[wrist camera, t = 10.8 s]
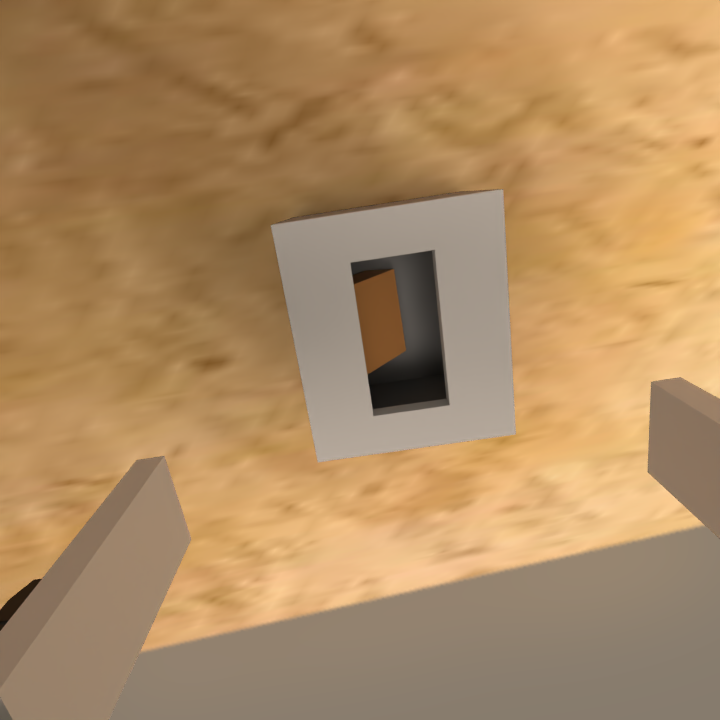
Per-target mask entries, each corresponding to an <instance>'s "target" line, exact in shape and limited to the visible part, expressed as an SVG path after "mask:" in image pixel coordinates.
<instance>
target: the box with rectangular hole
mask: <svg viewBox="0 0 720 720" xmlns="http://www.w3.org/2000/svg"><path fill="white" fill-rule="evenodd" d="M271 229H272V234H273V239H274V244H275V249H276V254H277V259H278V264H279V269H280V274H281V279H282V284H283V289H284V294H285V299H286V304H287V309H288V314H289V319H290V324H291V329H292V334H293V339H294V345H295V350H296V355H297V360H298V365H299V370H300V375H301V380H302V385H303V390H304V395H305V400H306V405H307V410H308V415H309V420H310V425H311V430H312V435H313V440H314V445H315V450H316V455H317V460H318V462H323V461H330V460H337V459H344V458H352V457H359V456H366V455H373V454H380V453H387V452H394V451H401V450H408V449H415V448H422V447H430V446H437V445H444V444H451V443H458V442H465V441H472V440H479V439H486V438H493V437H500V436H508V435H515V434H516V429H515V409H514V390H513V371H512V351H511V332H510V313H509V293H508V274H507V254H506V235H505V216H504V196H503V189H497V190H479V191H461V192H455V193H448V194H442V195H435V196H429V197H422V198H416V199H409V200H403V201H397V202H390V203H384V204H377V205H371V206H364V207H358V208H351V209H345V210H339V211H332V212H326V213H319V214H313V215H306V216H300V217H293V218H290V219H287V220H284V221H281V222H278V223H276V224H273V225H271ZM383 269H394V273H395V280H396V286H397V293H398V300H399V306H400V313H401V320H402V326H403V333H404V340H405V346H406V351H405V352H403V353H401V354H400V355H398V356H397V357H395V358H393V359H392V360H390V361H389V362H387V363H385V364H384V365H382V366H380V367H379V368H377V369H376V370H374V371H372V372H371V373H369V374H367V368H366V361H365V355H364V348H363V342H362V335H361V328H360V322H359V315H358V309H357V302H356V296H355V289H354V282H353V276H352V275H355V274H358V273H360V272H363V271H366V270H383Z"/></svg>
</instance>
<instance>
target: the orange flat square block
mask: <svg viewBox="0 0 720 720" xmlns="http://www.w3.org/2000/svg"><path fill="white" fill-rule="evenodd" d="M352 276H353V282H354V289H355V296H356V302H357V309H358V315H359V322H360V328H361V335H362V342H363V348H364V355H365V361H366V368H367V374H369V373H371V372H372V371H374V370H376V369H377V368H379V367H380V366H382V365H384V364H385V363H387V362H389V361H390V360H392V359H393V358H395V357H397V356H398V355H400V354H401V353H403V352H405V351H406V346H405V340H404V333H403V326H402V320H401V313H400V306H399V300H398V293H397V286H396V280H395V273H394V269H383V270H366V271H363V272H360V273H358V274H355V275H352Z"/></svg>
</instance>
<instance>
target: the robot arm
mask: <svg viewBox="0 0 720 720" xmlns="http://www.w3.org/2000/svg"><path fill="white" fill-rule="evenodd" d="M648 473H649V474H650V475H651V476H652V477H654V478H655V479H656V480H657V481H658V482H659V483H660V484H661V485H662V486H663V487H664V488H665V489H666V490H668V491H669V492H670V493H671V494H672V495H673V496H674V497H675V498H676V499H677V500H678V501H679V502H681V503H682V504H683V505H684V506H685V507H686V508H687V509H688V510H689V511H690V512H691V513H692V514H693V515H695V516H696V517H697V518H698V519H699V520H700V521H701V522H702V523H703V524H704V525H705V526H706V527H708V528H709V529H710V530H711V531H712V532H713V533H714V534H715V535H716V536H717V537H718V538H719V539H720V399H719V398H717V397H715V396H713V395H712V394H710V393H708V392H706V391H704V390H703V389H701V388H699V387H697V386H695V385H693V384H692V383H690V382H688V381H686V380H684V379H683V378H681V377H679V378H673V379H666V380H660V381H653V382H651V398H650V424H649V450H648ZM190 541H191V537H190V534H189V530H188V527H187V524H186V521H185V518H184V515H183V512H182V509H181V506H180V503H179V500H178V497H177V494H176V490H175V487H174V484H173V481H172V478H171V475H170V472H169V469H168V466H167V463H166V460H165V457H164V456H160V457H154V458H147V459H141V460H136V462H135V463H134V464H133V465H132V467H131V468H130V469H129V470H128V472H127V473H126V474H125V475H124V477H123V478H122V479H121V480H120V482H119V483H118V484H117V485H116V487H115V488H114V489H113V490H112V492H111V493H110V494H109V495H108V497H107V498H106V499H105V500H104V502H103V503H102V504H101V506H100V507H99V508H98V509H97V511H96V512H95V513H94V514H93V516H92V517H91V518H90V519H89V521H88V522H87V523H86V524H85V526H84V527H83V528H82V529H81V531H80V532H79V533H78V534H77V536H76V537H75V538H74V539H73V541H72V542H71V543H70V544H69V546H68V547H67V548H66V549H65V551H64V552H63V553H62V554H61V556H60V557H59V558H58V559H57V561H56V562H55V563H54V564H53V566H52V567H51V568H50V569H49V571H48V572H47V573H46V574H45V576H44V577H43V578H42V579H37V580H33V581H32V582H31V583H29V584H28V585H27V586H26V587H24V588H23V589H22V590H21V591H19V592H18V593H17V594H16V595H14V596H13V597H12V598H11V599H9V600H8V601H7V603H6V604H5V605H4V606H3V607H2V608H1V610H0V720H109V718H110V716H111V714H112V712H113V710H114V707H115V705H116V703H117V701H118V699H119V696H120V694H121V692H122V690H123V687H124V686H125V683H126V681H127V679H128V677H129V674H130V672H131V670H132V668H133V666H134V664H135V661H136V659H137V657H138V655H139V653H140V650H141V648H142V646H143V644H144V642H145V640H146V637H147V635H148V633H149V631H150V629H151V626H152V624H153V622H154V620H155V618H156V615H157V613H158V611H159V609H160V607H161V604H162V602H163V600H164V598H165V596H166V593H167V591H168V589H169V587H170V585H171V583H172V580H173V578H174V576H175V574H176V572H177V569H178V567H179V565H180V563H181V561H182V558H183V556H184V554H185V552H186V550H187V547H188V545H189V543H190Z"/></svg>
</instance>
